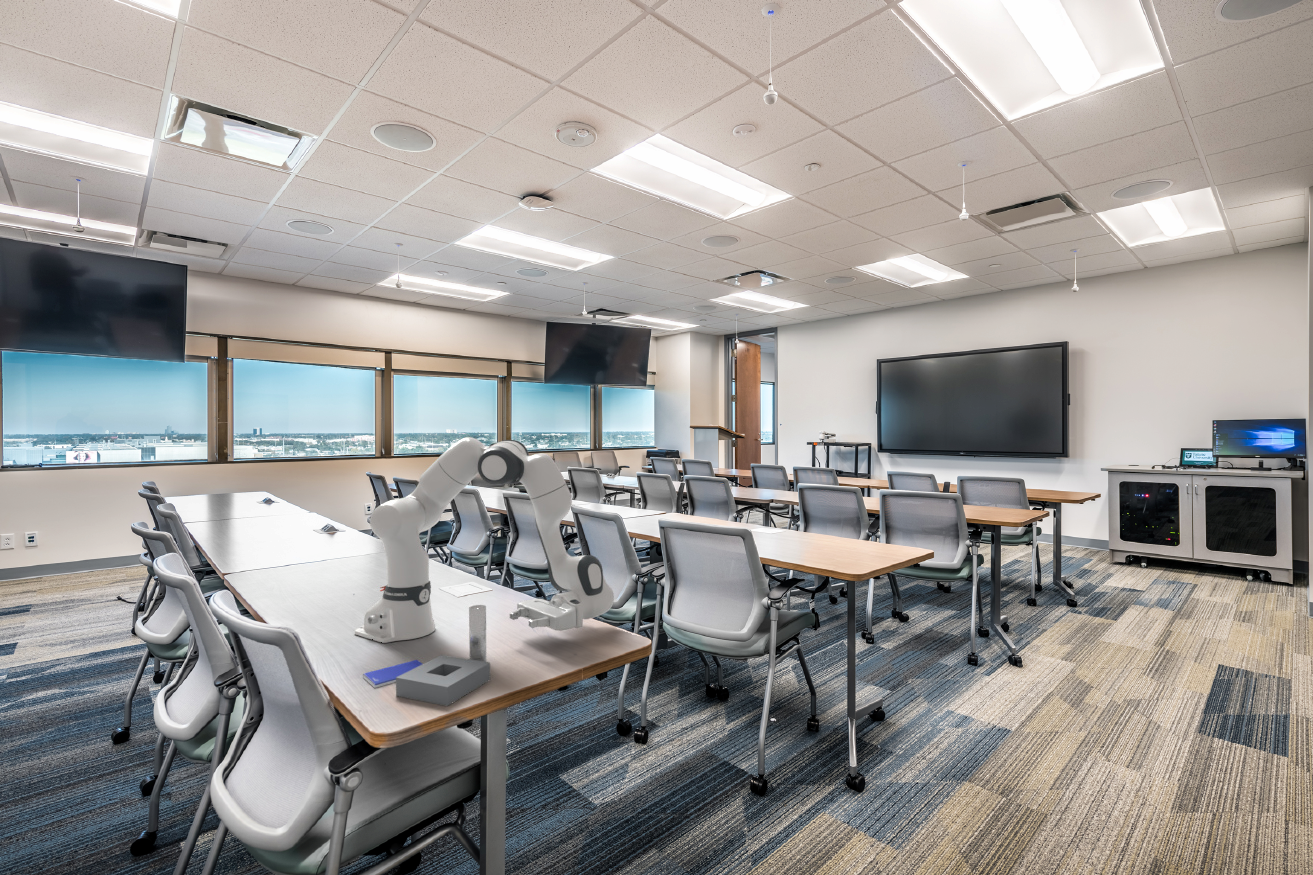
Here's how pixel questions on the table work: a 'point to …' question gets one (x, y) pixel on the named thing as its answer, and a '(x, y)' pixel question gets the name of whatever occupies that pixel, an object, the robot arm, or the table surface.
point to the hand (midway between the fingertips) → (520, 620)
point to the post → (477, 632)
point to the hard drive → (389, 673)
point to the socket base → (442, 679)
